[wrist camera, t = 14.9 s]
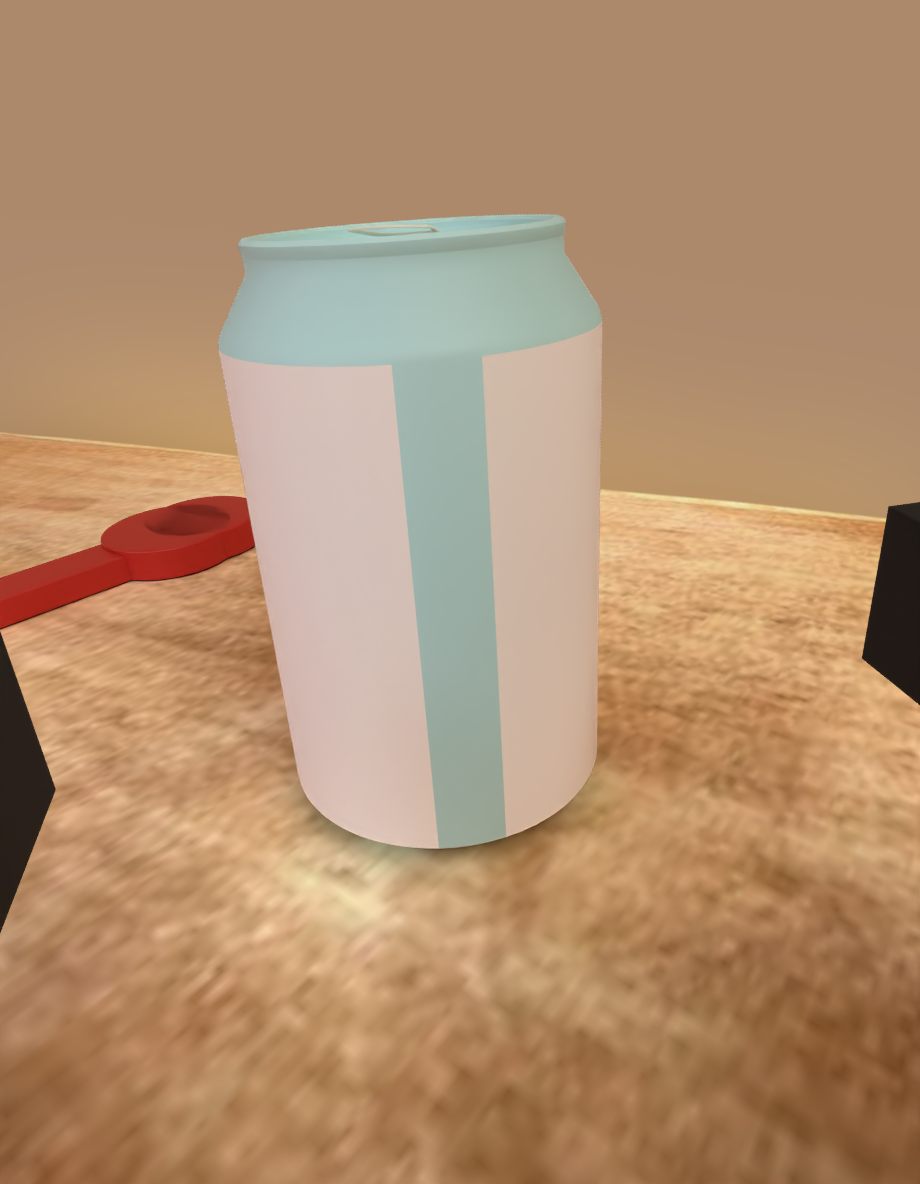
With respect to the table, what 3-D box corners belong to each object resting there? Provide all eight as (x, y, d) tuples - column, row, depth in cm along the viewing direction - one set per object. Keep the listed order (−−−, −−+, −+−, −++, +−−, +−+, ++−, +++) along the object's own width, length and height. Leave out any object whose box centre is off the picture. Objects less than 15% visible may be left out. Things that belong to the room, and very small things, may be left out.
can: (307, 703, 23) (225, 228, 18) (557, 672, 24) (551, 204, 18) (294, 897, 17) (160, 251, 11) (636, 848, 17) (663, 213, 12)
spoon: (-341, 779, 22) (-363, 742, 21) (-357, 710, 25) (-377, 676, 24) (288, 537, 34) (284, 510, 33) (223, 512, 37) (218, 487, 37)
